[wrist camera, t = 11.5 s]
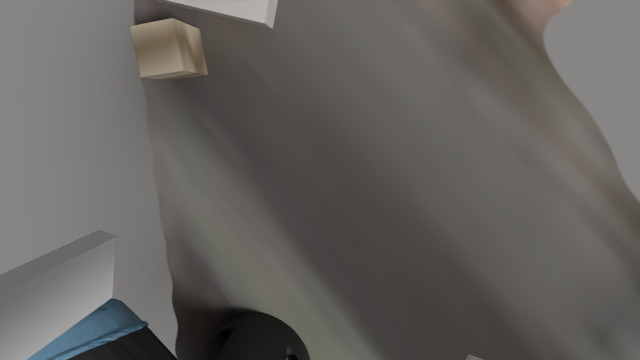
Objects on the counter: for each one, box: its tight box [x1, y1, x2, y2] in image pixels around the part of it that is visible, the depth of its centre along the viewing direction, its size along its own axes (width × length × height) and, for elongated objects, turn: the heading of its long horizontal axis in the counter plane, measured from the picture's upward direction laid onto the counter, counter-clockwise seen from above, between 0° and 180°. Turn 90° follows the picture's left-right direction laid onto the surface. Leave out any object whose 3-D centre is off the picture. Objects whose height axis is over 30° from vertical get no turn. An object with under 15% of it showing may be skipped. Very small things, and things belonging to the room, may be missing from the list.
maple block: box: [130, 18, 208, 80], centre depth 35 cm, size 5×5×5 cm
